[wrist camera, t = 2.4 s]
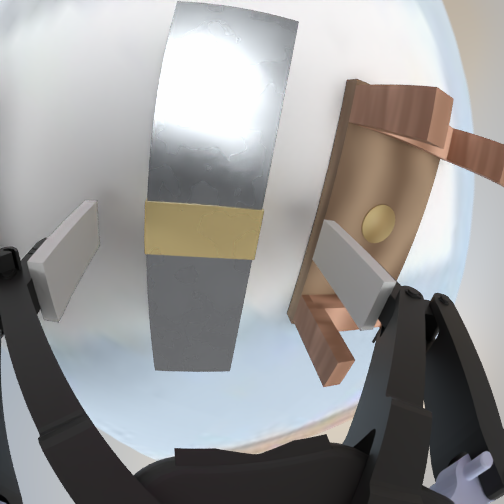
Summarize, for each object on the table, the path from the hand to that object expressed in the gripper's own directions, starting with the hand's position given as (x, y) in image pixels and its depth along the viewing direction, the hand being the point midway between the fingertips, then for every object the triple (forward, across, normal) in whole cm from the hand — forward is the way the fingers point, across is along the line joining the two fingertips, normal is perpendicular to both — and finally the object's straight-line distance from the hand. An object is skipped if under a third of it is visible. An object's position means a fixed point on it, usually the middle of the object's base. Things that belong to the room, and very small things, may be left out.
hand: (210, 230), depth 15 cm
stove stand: (+6, +14, 0) cm, 16 cm away
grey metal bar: (+6, -1, 0) cm, 6 cm away
